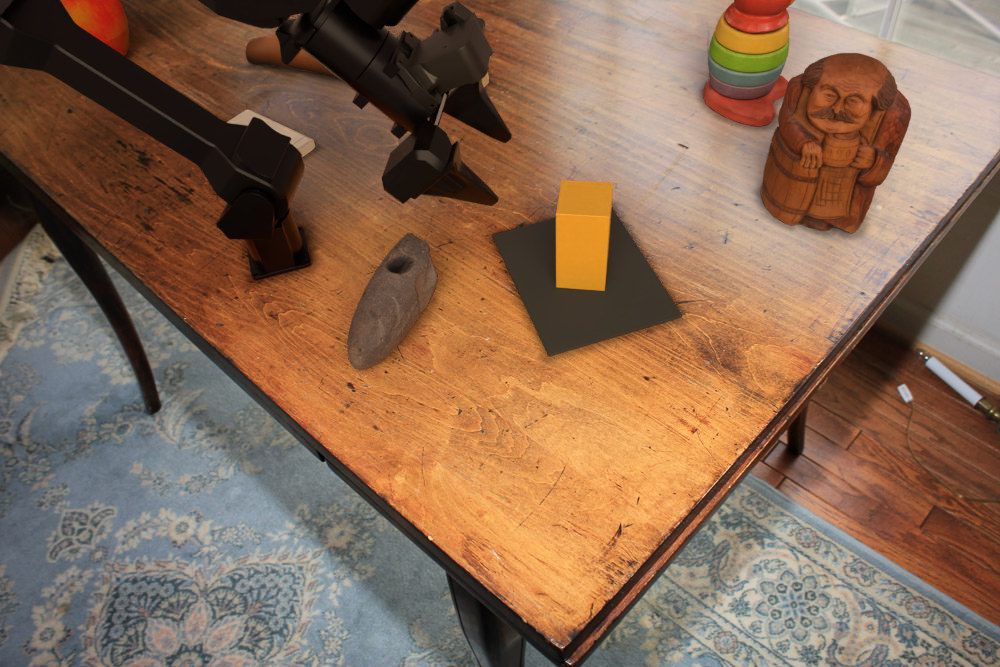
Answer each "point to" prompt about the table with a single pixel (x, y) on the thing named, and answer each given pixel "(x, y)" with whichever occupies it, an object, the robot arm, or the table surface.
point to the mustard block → (583, 234)
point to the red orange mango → (101, 21)
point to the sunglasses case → (269, 54)
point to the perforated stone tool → (391, 302)
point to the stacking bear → (748, 60)
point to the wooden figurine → (834, 142)
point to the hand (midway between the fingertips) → (502, 169)
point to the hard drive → (297, 139)
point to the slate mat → (579, 312)
